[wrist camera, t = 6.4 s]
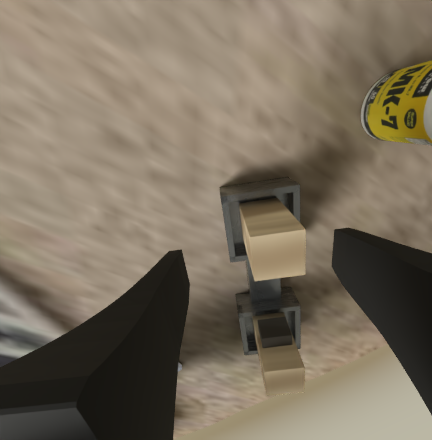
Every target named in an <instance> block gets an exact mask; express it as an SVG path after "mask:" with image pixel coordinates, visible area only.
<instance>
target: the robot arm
mask: <svg viewBox="0 0 432 440" xmlns="http://www.w3.org/2000/svg"><path fill="white" fill-rule="evenodd" d="M332 268H333V270H334V271H335V273H336V275H337V277H338V278H339V280H340V282H341V283H342V285H343V286H344V287H345V289H346V290H347V291H348V293H349V294H350V295H351V296H352V298H353V299H354V300H355V301H356V303H357V304H358V305H359V306H360V308H361V309H362V310H363V311H364V313H365V314H366V315H367V316H368V318H369V319H370V320H371V321H372V323H373V324H374V325H375V326H376V328H377V329H378V330H379V332H380V333H381V334H382V336H383V337H384V338H385V340H386V342H387V343H388V345H389V346H390V348H391V349H392V351H393V352H394V354H395V355H396V357H397V358H398V360H399V361H400V363H401V364H402V366H403V368H404V369H405V371H406V373H407V374H408V376H409V377H410V379H411V381H412V382H413V384H414V386H415V387H416V389H417V390H418V392H419V394H420V396H421V397H422V399H423V401H424V402H425V404H426V406H427V408H428V409H429V411H430V413H431V415H432V253H429V252H425V251H422V250H418V249H415V248H411V247H408V246H405V245H402V244H399V243H396V242H393V241H390V240H387V239H384V238H381V237H377V236H374V235H371V234H368V233H365V232H362V231H359V230H355V229H351V228H343V229H335V230H334V243H333V256H332ZM189 288H190V283H189V279H188V275H187V270H186V266H185V262H184V258H183V253H182V250H175V251H169V252H168V253H167V254H166V255H165V256H164V257H163V258H162V259H161V260H160V261H159V262H158V263H157V264H156V265H155V266H154V267H153V268H152V269H151V270H150V271H149V272H148V273H147V274H146V275H145V276H144V277H143V278H141V279H140V280H139V281H138V282H137V283H136V284H135V285H134V286H133V287H132V288H130V289H129V290H128V291H127V292H126V293H125V294H123V295H122V296H121V297H120V298H118V299H117V300H116V301H114V302H113V303H112V304H110V305H109V306H108V307H106V308H105V309H104V310H102V311H101V312H99V313H98V314H96V315H95V316H93V317H91V318H90V319H88V320H87V321H85V322H84V323H82V324H81V325H79V326H78V327H76V328H74V329H73V330H71V331H69V332H68V333H66V334H64V335H62V336H61V337H59V338H57V339H55V340H53V341H52V342H50V343H48V344H46V345H44V346H42V347H41V348H39V349H37V350H35V351H33V352H31V353H29V354H27V355H25V356H23V357H21V358H19V359H17V360H15V361H13V362H11V363H8V364H6V365H4V366H2V367H0V440H173V430H174V412H175V399H176V385H177V374H178V371H180V370H181V369H182V365H181V364H180V363H179V354H180V348H181V342H182V337H183V332H184V326H185V321H186V315H187V310H188V304H189Z"/></svg>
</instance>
